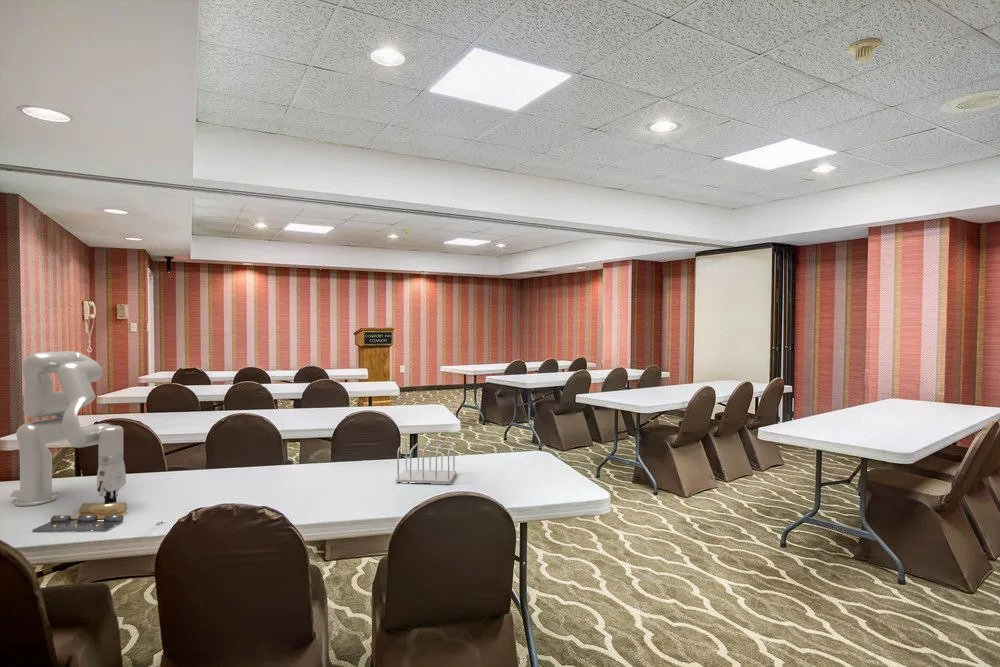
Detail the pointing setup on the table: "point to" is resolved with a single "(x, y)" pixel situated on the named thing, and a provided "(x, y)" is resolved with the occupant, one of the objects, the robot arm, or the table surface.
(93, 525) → the steel hinge leaf
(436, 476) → the file sorter
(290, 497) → the table surface
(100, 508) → the bronze hinge leaf
